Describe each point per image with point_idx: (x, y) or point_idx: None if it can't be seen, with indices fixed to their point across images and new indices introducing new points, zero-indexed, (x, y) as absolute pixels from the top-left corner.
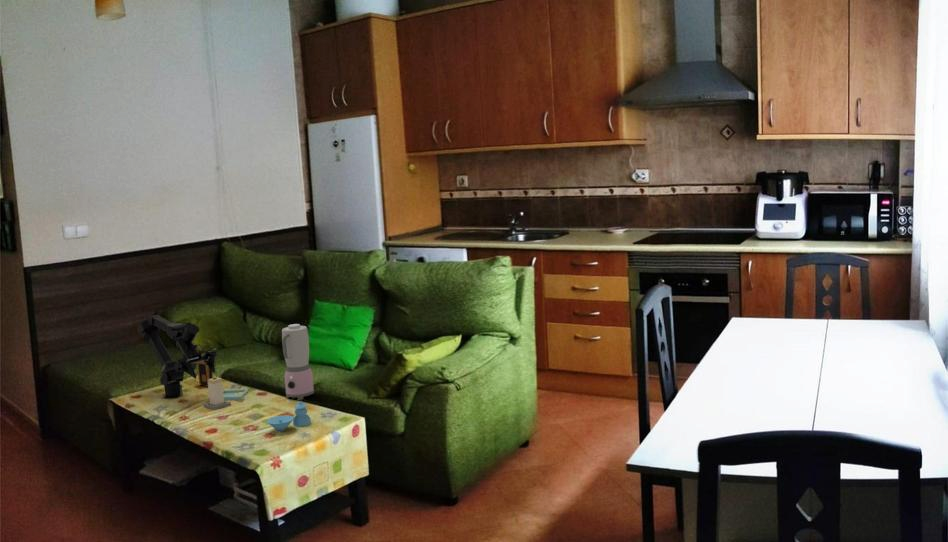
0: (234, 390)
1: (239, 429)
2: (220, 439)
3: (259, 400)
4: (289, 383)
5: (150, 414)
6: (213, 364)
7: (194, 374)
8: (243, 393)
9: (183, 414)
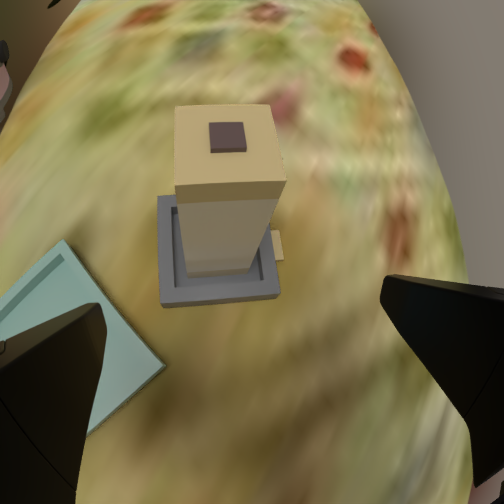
0: None
1: (294, 22)
2: (352, 23)
3: (41, 174)
4: (3, 44)
5: None
6: (21, 340)
7: (422, 278)
8: (20, 280)
9: None
